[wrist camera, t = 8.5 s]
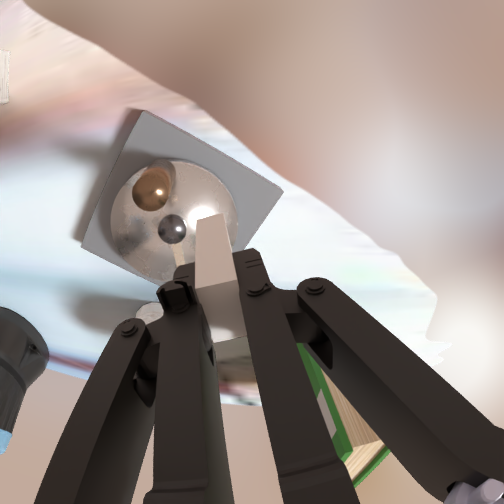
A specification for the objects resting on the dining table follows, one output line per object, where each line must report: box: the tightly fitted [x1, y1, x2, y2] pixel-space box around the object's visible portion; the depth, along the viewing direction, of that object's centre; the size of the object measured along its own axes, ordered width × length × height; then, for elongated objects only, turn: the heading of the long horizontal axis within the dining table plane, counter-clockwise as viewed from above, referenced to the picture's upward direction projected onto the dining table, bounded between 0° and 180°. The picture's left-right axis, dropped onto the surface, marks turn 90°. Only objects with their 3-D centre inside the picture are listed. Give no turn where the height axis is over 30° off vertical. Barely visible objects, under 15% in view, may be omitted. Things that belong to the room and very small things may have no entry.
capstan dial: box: [110, 159, 238, 282], centre depth 30 cm, size 16×14×9 cm
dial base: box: [81, 111, 284, 286], centre depth 35 cm, size 18×18×2 cm
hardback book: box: [296, 343, 391, 488], centre depth 40 cm, size 18×7×24 cm, turn 176°
